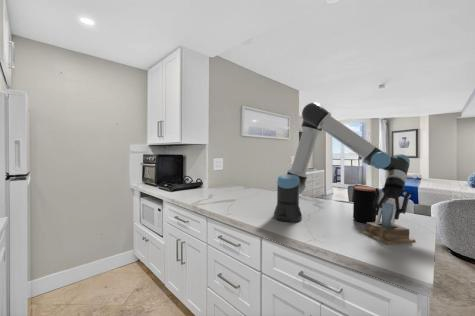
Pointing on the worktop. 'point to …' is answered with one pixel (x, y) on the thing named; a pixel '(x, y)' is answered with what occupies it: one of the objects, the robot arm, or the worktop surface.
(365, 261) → the worktop surface
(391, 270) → the worktop surface
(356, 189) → the coffee jar
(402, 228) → the socket block
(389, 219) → the dowel
